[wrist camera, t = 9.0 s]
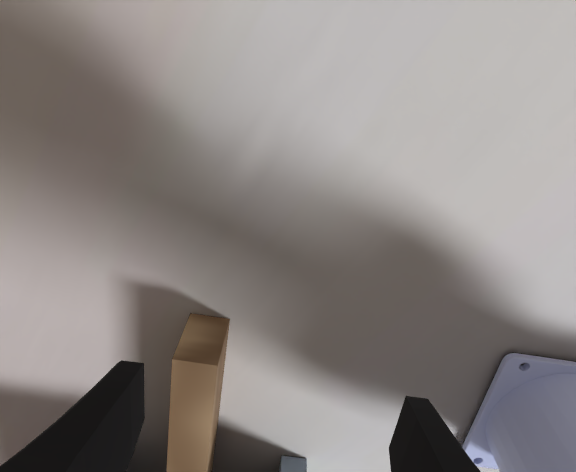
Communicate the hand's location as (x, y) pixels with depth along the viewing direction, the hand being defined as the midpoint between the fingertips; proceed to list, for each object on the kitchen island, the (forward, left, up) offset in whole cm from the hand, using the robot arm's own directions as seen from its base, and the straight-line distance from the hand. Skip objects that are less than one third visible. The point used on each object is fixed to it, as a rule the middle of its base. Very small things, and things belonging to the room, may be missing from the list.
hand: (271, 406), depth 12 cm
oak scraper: (+3, +13, -10) cm, 16 cm away
